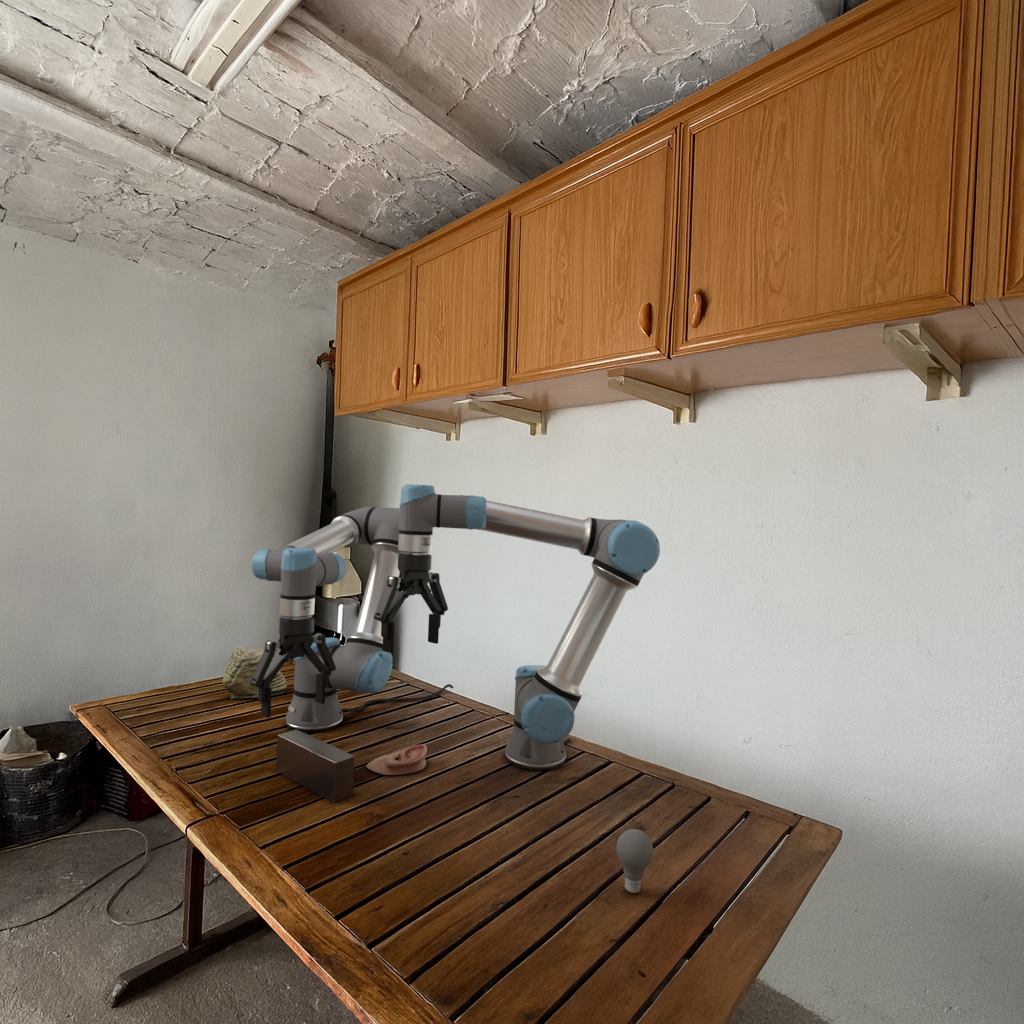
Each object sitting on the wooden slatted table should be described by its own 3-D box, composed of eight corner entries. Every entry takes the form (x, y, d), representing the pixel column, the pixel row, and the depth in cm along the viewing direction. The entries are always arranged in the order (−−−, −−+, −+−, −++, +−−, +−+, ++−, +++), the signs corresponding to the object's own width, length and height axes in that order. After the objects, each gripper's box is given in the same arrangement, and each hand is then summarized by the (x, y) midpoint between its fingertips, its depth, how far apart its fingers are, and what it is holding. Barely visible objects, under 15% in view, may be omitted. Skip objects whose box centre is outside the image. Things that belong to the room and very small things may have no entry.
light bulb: (610, 879, 108) (613, 822, 108) (644, 879, 109) (647, 822, 109) (619, 902, 102) (622, 840, 102) (655, 901, 103) (658, 840, 103)
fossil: (218, 695, 195) (220, 647, 195) (278, 685, 208) (279, 640, 207) (228, 703, 189) (230, 653, 188) (289, 692, 201) (290, 645, 201)
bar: (275, 770, 145) (277, 734, 145) (295, 764, 149) (296, 729, 149) (333, 802, 131) (335, 762, 131) (353, 794, 135) (354, 755, 135)
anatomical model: (361, 754, 146) (381, 736, 157) (360, 771, 146) (380, 752, 157) (415, 762, 143) (432, 743, 155) (415, 779, 143) (431, 759, 155)
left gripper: (252, 625, 132) (249, 727, 132) (353, 612, 151) (349, 701, 151) (235, 620, 136) (232, 717, 137) (334, 608, 156) (331, 693, 156)
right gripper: (382, 557, 130) (378, 659, 131) (465, 552, 150) (461, 641, 150) (359, 553, 135) (355, 652, 135) (442, 549, 154) (438, 636, 155)
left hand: (293, 709), depth 144 cm, fingers open, 13 cm apart
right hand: (411, 647), depth 143 cm, fingers open, 13 cm apart
